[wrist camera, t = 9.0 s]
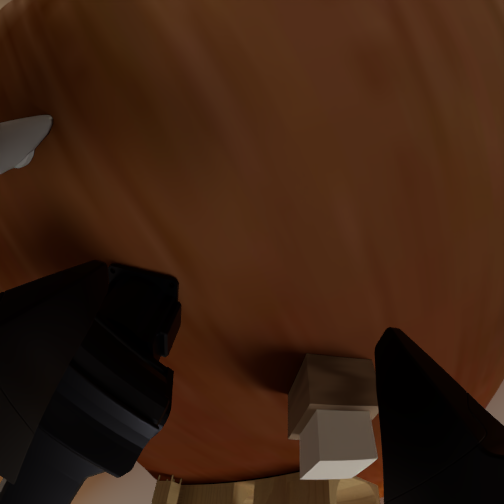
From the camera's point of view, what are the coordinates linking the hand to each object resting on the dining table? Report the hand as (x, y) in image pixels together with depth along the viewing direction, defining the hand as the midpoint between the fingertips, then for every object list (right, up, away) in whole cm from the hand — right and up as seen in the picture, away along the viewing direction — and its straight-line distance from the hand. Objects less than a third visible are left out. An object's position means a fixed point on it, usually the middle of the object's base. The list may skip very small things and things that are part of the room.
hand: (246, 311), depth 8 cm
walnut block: (+8, -11, +19) cm, 24 cm away
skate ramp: (+5, -53, +41) cm, 67 cm away
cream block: (+8, -14, +14) cm, 21 cm away
